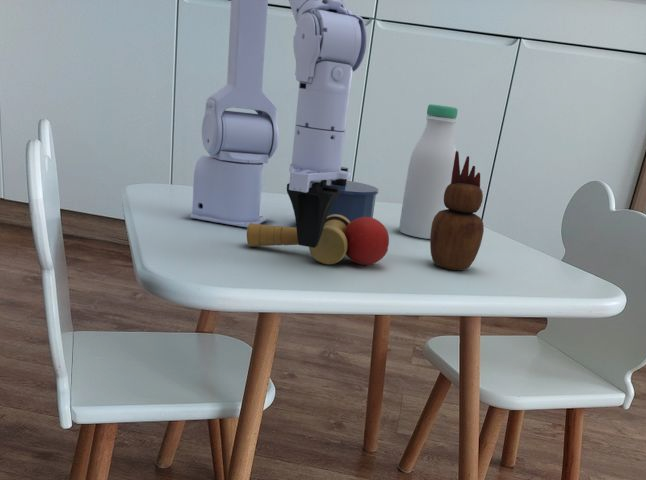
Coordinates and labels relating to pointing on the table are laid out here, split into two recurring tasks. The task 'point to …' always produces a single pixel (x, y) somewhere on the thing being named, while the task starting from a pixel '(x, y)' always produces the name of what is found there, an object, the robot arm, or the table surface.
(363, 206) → the pot
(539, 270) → the table surface
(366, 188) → the pot lid
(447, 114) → the milk bottle
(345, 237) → the kendama
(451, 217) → the wooden figurine
